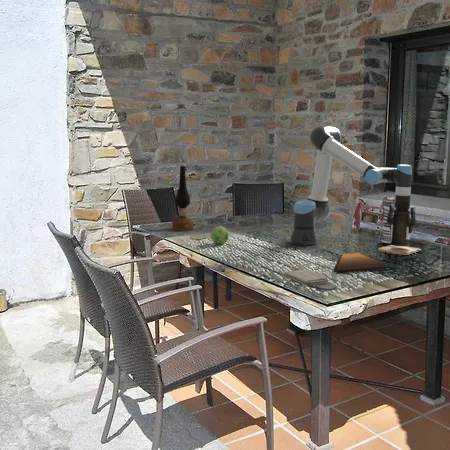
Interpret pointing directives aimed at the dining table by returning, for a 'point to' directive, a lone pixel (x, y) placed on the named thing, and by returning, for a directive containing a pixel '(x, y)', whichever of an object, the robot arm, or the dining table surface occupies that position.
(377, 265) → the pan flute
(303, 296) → the dining table surface
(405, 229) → the container
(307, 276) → the washcloth
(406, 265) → the dining table surface
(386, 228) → the decorative candle
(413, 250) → the oak board
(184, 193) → the oil lamp
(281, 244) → the dining table surface
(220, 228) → the decorative ball
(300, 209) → the robot arm
